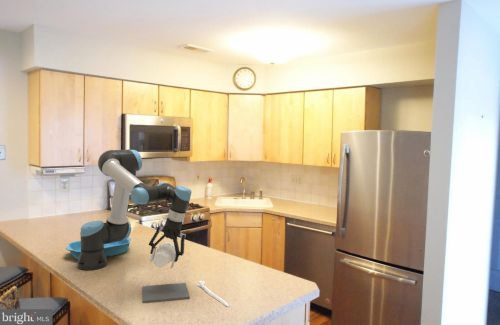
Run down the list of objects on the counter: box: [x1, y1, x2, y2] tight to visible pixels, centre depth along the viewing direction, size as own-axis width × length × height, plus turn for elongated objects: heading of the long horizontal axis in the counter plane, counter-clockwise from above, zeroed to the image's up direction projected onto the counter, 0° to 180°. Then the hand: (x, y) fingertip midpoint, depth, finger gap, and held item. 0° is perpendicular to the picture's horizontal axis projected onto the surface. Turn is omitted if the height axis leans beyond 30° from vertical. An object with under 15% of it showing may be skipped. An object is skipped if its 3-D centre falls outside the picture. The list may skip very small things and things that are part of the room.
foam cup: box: [152, 241, 176, 268], centre depth 180 cm, size 10×9×13 cm
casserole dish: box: [65, 236, 132, 261], centre depth 229 cm, size 37×22×7 cm, turn 129°
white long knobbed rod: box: [196, 280, 230, 308], centre depth 176 cm, size 28×4×3 cm, turn 36°
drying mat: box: [142, 282, 190, 304], centre depth 176 cm, size 20×16×1 cm
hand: (161, 264), depth 181 cm, fingers closed on foam cup, 9 cm apart
